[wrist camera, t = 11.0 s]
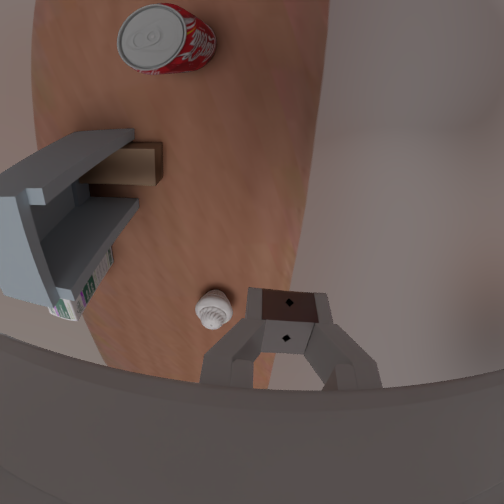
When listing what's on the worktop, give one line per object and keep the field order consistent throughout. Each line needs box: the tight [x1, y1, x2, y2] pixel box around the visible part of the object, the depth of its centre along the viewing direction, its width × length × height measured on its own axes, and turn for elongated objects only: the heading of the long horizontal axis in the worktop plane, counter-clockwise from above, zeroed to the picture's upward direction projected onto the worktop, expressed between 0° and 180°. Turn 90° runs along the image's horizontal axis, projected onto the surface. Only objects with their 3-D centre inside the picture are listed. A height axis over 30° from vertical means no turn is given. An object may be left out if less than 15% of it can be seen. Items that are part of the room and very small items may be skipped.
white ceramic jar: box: [195, 290, 233, 330], centre depth 48 cm, size 6×6×7 cm
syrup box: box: [47, 247, 114, 321], centre depth 40 cm, size 6×6×14 cm
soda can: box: [117, 3, 216, 75], centre depth 23 cm, size 7×7×13 cm
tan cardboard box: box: [79, 142, 163, 186], centre depth 36 cm, size 5×12×4 cm, turn 84°
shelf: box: [0, 128, 139, 308], centre depth 29 cm, size 12×10×22 cm
